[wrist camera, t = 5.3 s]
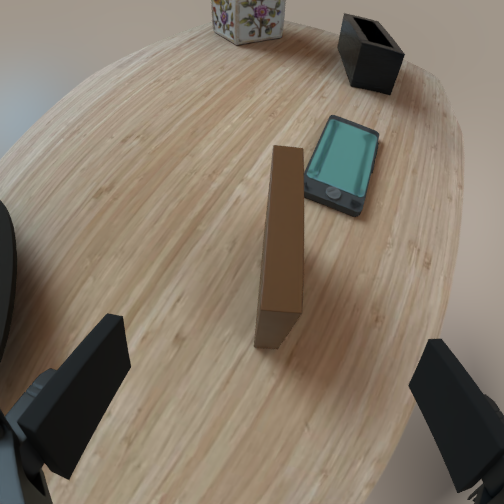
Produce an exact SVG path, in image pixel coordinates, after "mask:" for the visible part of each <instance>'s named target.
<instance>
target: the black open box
mask: <svg viewBox="0 0 504 504" xmlns="http://www.w3.org/2000/svg"><path fill="white" fill-rule="evenodd" d="M337 48H338V51H339V53H340V56H341V59H342V62H343V64H344V67H345V70H346V73H347V76H348V79H349V82H350V85H351V86H352V87H357V88H362V89H367V90H371V91H375V92H379V93H384V94H388V95H391V92H392V89H393V87H394V84H395V81H396V78H397V76H398V73H399V70H400V67H401V64H402V61H403V58H404V55H405V54H404V53H403V51H402V50H401V49H400V47H399V46H398V45H397V43H396V42H395V41H394V40H393V38H392V37H391V36H390V35H389V34H388V32H387V31H386V30H385V29H384V28H383V26H382V25H381V24H380V23H379V22H378V21H374V20H371V19H367V18H362V17H359V16H354V15H349V14H344V17H343V22H342V27H341V32H340V37H339V42H338V47H337Z"/></svg>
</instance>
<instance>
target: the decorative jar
mask: <svg viewBox="0 0 504 504" xmlns="http://www.w3.org/2000/svg"><path fill="white" fill-rule="evenodd" d="M211 1H212V24H213V31H214V32H215V33H217V34H219V35H221V36H222V37H224V38H226V39H227V40H229V41H230V42H232V43H234V44H235V45H241V44H247V43H252V42H258V41H264V40H271V39H277V38H281V37H282V34H283V26H284V14H285V1H286V0H211Z"/></svg>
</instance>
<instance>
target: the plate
mask: <svg viewBox="0 0 504 504" xmlns="http://www.w3.org/2000/svg"><path fill="white" fill-rule="evenodd" d="M16 275H17V251H16V239H15V232H14V227H13V223H12V220H11V217H10V215H9V212H8V210H7V208H6V207H5V205H4V204H3V203H2V202H1V200H0V362H1V359H2V356H3V353H4V350H5V346H6V342H7V338H8V334H9V329H10V324H11V319H12V313H13V307H14V299H15V289H16Z"/></svg>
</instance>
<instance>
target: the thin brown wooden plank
mask: <svg viewBox="0 0 504 504" xmlns="http://www.w3.org/2000/svg"><path fill="white" fill-rule="evenodd" d="M303 273H304V157H303V148H296V147H286V146H277V145H274V146H273V153H272V163H271V173H270V183H269V192H268V202H267V211H266V221H265V230H264V241H263V253H262V264H261V275H260V286H259V297H258V308H257V319H256V330H255V340H254V347H257V348H269V349H278V348H279V346H280V345H281V343H282V342H283V341H284V339H285V338H286V336H287V335H288V333H289V332H290V330H291V329H292V327H293V326H294V324H295V323H296V321H297V320H298V318H299V317H300V315H301V314H302V304H303Z"/></svg>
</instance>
